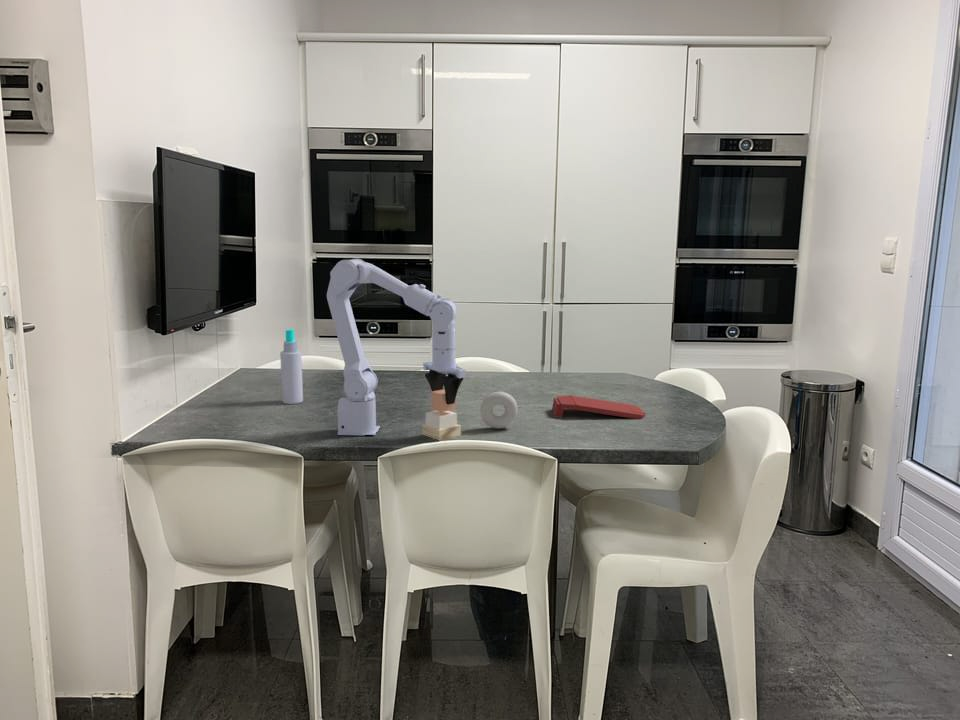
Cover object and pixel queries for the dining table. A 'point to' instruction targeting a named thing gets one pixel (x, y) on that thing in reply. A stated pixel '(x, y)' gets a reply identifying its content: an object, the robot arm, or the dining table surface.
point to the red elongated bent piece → (595, 407)
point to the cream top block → (441, 419)
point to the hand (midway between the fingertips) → (444, 401)
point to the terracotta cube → (441, 401)
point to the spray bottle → (291, 371)
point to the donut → (496, 399)
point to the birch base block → (441, 432)
